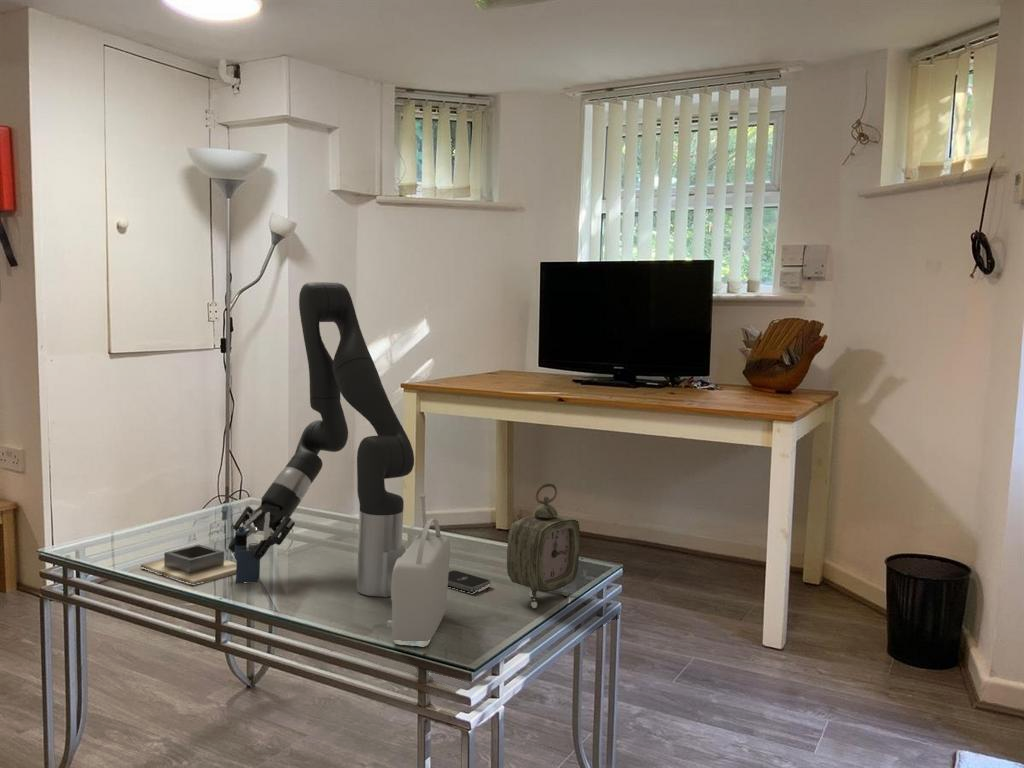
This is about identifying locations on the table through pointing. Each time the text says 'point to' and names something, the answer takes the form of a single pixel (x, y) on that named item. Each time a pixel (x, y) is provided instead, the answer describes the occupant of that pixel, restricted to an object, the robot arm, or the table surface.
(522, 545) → the tabletop clock
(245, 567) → the vaping device
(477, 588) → the external hard drive
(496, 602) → the table surface
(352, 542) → the table surface
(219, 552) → the square socket
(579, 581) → the table surface
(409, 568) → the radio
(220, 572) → the mounting board
